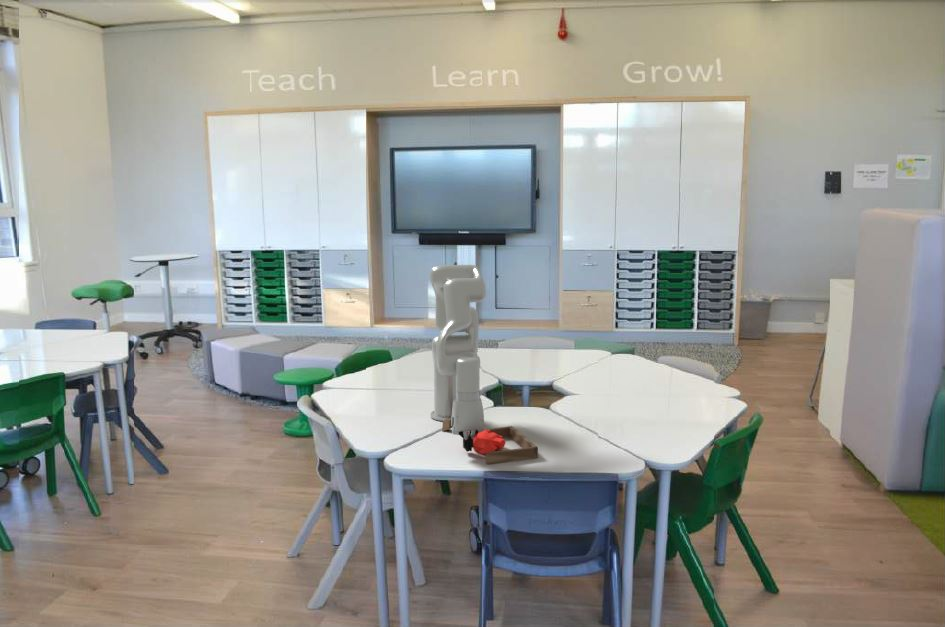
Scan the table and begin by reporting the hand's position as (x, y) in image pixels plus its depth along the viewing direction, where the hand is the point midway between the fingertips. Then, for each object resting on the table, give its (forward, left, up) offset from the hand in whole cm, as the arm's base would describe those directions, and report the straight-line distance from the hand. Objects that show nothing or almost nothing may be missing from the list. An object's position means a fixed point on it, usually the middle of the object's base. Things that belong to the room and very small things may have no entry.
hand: (468, 449), depth 227 cm
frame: (0, +11, -1) cm, 11 cm away
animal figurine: (0, +7, -2) cm, 7 cm away
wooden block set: (-28, +7, -2) cm, 29 cm away
